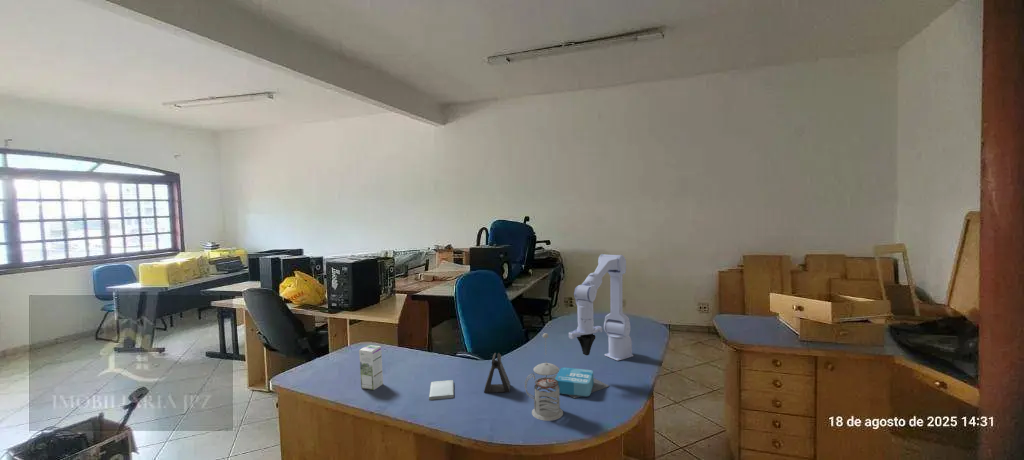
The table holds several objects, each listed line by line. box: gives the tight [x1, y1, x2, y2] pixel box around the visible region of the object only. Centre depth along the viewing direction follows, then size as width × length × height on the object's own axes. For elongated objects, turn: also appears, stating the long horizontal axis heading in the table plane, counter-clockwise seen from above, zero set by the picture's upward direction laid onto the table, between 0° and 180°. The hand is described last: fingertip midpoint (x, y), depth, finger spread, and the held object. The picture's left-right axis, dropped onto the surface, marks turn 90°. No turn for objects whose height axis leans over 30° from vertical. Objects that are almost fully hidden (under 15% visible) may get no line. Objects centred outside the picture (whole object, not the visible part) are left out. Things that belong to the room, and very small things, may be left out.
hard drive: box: [428, 379, 454, 401], centre depth 142 cm, size 2×8×12 cm
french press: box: [524, 332, 564, 422], centre depth 124 cm, size 10×12×25 cm
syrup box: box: [358, 345, 384, 391], centre depth 147 cm, size 6×6×14 cm
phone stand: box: [483, 352, 511, 394], centre depth 142 cm, size 9×6×12 cm, turn 88°
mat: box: [547, 374, 610, 399], centre depth 145 cm, size 16×18×1 cm
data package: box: [554, 367, 595, 397], centre depth 141 cm, size 12×4×12 cm
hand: (586, 354), depth 148 cm, fingers closed
